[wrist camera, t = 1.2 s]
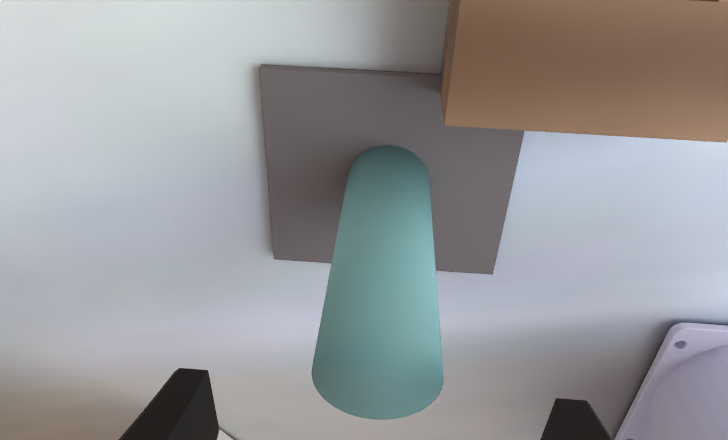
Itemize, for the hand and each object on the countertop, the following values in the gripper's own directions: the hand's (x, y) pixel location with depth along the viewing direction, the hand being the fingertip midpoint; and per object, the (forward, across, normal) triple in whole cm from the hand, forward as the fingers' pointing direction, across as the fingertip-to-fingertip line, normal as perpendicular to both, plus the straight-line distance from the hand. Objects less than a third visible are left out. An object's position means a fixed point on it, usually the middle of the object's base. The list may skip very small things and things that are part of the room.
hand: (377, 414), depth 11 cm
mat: (+10, 0, 0) cm, 10 cm away
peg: (+10, 0, 0) cm, 10 cm away
